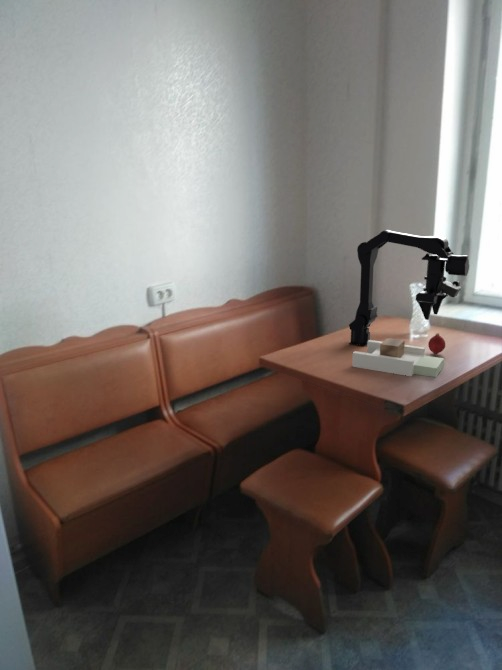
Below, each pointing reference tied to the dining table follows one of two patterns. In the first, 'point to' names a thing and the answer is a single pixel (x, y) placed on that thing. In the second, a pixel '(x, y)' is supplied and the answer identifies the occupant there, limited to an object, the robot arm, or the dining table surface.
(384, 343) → the block
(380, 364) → the track
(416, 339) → the dining table surface
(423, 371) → the pad
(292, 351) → the dining table surface
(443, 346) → the onion
